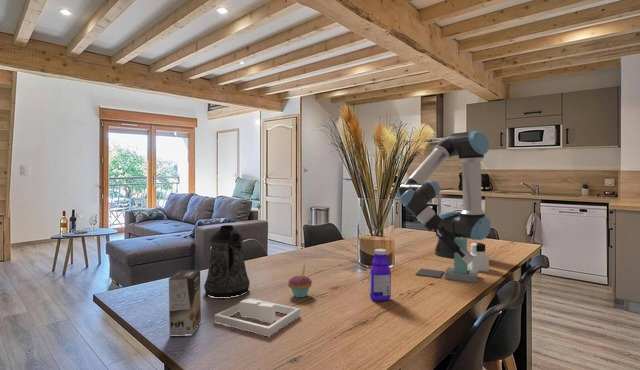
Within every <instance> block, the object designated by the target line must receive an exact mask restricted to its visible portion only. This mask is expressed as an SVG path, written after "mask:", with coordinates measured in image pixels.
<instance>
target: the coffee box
mask: <svg viewBox="0 0 640 370" xmlns="http://www.w3.org/2000/svg"><path fill="white" fill-rule="evenodd" d="M201 296H202V295H201V270H200V269H186V270H178V271H177V272H175V274H173V275H171V277H169V278H168V305H169V306H168V310H169V312H168V313H169V319H168V320H169V322H168V323H169V336H170V335H185V334H193V332H194V331H195V329H196V328H197V326H198V325H199V323H200V321H201V322H202V312H201V311H202V310H201V309H202V308H201V307H202V305H201V303H202V302H201V299H202V298H201ZM200 324H201V323H200ZM199 326H200V325H199ZM199 326H198V327H199ZM197 329H198V328H197ZM195 332H196V331H195ZM193 335H194V334H193Z"/></svg>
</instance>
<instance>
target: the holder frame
mask: <svg viewBox="0 0 640 370" xmlns="http://www.w3.org/2000/svg"><path fill="white" fill-rule="evenodd" d="M246 300H254V301H263V303H269V304H275V311H276V312H280V313H284V314H287V315H284V314H283V315H284V316H283V317H281V318H279V319H278V320H276V321H275V322H274V323H273V324H269V325H264V324H259V323H255V322H252V321H247V320H244V319H240V318H235V317H233V316H232V317H228V316H229V315H231V314H234V313H235V312H237V311H239V310H240V302H238V303H236V304H235V305H232V306H230V307H228V308H226V309H224V310H221V311H219V312H218V313H216V314H214V316H213V317H214V318H213V319H214V322H215V321H216V322H220V323H223V324H227V325H230V326H234V327H238V328H241V329H245V330H249V331H252V332H256V333H259V334H262V335H266V336H270V335H272V334H273V333H275V332H276V331H278V330H279V329H281V328H283V327H284V326H286V325H287V326H289V325H290V324H292V323H293V322H294V321H296V320H297V319H299V318H300V317H301V308H299V307H293V306H291V305H290V306H289V305H286V304H279V303H275V302H270V301H265V300H262V299H261V300H260V299H255V298H251V297H248V298H247V299H246ZM280 313H279V314H280ZM299 316H300V317H299ZM298 317H299V318H298ZM295 319H296V320H295ZM292 321H293V322H292ZM289 323H290V324H289ZM288 324H289V325H288ZM287 326H286V327H287ZM284 328H285V327H284ZM284 328H283V329H284ZM281 330H282V329H281ZM278 332H279V331H278ZM275 334H276V333H275ZM272 336H273V335H272Z"/></svg>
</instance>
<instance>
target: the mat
mask: <svg viewBox="0 0 640 370" xmlns="http://www.w3.org/2000/svg"><path fill="white" fill-rule="evenodd" d="M443 274H445V271H444V270H439V269H438V270H437V269H428V268H420V269H419V270H418V271H417V272H416V273H415V276H419V277H426V278H427V277H428V278H437V279H440V278H441V277H442V276H443Z"/></svg>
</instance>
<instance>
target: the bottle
mask: <svg viewBox="0 0 640 370" xmlns="http://www.w3.org/2000/svg"><path fill="white" fill-rule="evenodd" d="M387 257H388V256H387V250H386V249H384V248H376V249H374V257H373V259H372V261H371V263H372V265H371V267H370V270H369V296H370V299H371V300H373V301H375V302H384V301H385V302H386V301H389V300H390V298H391V296H392V295H391V293H392V292H391V290H392V288H391V287H392V272H391V268H390V266H389V263H390V262H389V260H388V258H387Z"/></svg>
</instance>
